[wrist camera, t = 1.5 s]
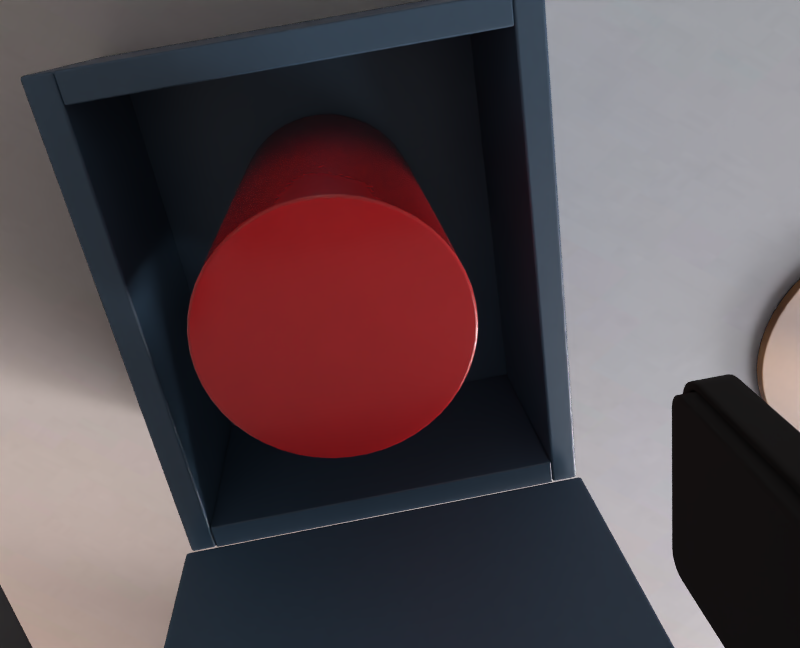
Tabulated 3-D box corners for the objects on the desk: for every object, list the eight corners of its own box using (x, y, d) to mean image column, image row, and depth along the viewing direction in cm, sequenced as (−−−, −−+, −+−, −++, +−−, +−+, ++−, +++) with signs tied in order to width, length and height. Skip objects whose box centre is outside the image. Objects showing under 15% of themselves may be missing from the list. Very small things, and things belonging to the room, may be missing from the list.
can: (251, 98, 23) (198, 170, 13) (431, 131, 24) (509, 221, 14) (233, 271, 25) (176, 444, 15) (398, 295, 26) (445, 471, 16)
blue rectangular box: (99, 57, 23) (18, 76, 17) (485, -11, 23) (544, -16, 17) (219, 435, 29) (191, 552, 23) (523, 377, 29) (577, 477, 23)
